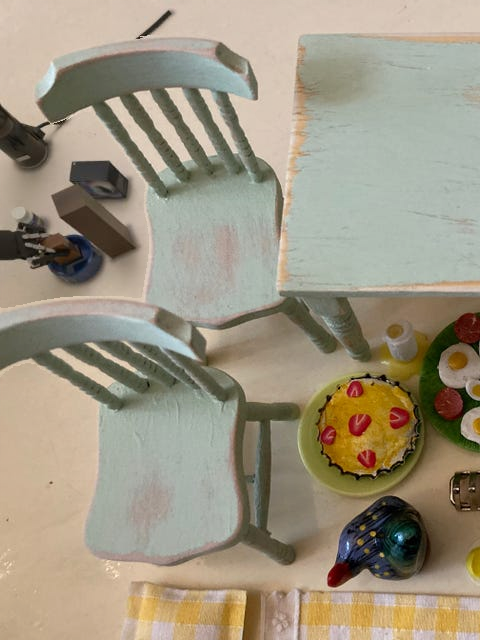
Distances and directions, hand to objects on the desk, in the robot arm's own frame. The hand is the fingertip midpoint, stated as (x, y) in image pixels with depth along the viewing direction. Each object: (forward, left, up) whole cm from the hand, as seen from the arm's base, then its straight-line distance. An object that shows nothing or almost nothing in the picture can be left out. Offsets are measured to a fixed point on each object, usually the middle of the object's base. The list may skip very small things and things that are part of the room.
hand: (67, 245), depth 182 cm
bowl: (+1, -1, -9) cm, 9 cm away
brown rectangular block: (-7, +7, -9) cm, 13 cm away
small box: (-22, -2, -9) cm, 24 cm away
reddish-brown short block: (+1, -1, -5) cm, 5 cm away
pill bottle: (-6, -17, -9) cm, 20 cm away
